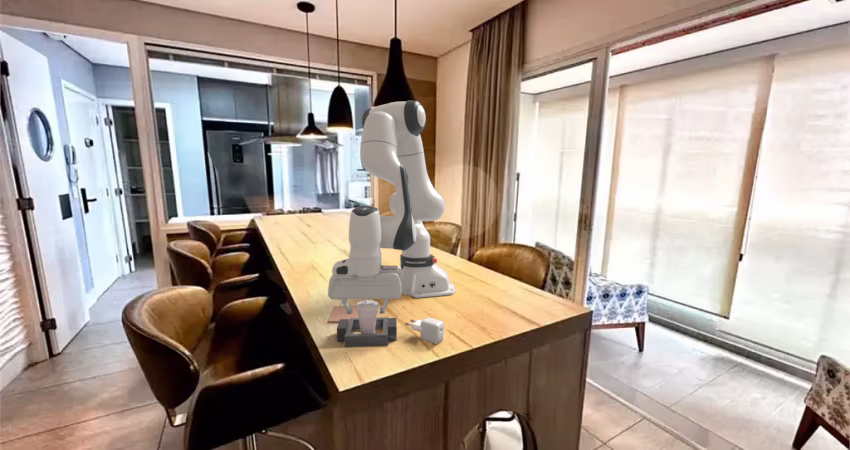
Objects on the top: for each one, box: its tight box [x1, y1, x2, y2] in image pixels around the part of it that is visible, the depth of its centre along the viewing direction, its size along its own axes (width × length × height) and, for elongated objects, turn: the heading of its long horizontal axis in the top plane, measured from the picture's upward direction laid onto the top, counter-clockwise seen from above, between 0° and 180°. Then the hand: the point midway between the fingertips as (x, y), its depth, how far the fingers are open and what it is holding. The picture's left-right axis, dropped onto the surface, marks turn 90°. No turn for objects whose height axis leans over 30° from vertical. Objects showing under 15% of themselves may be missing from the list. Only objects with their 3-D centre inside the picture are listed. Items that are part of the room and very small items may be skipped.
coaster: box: [326, 305, 358, 325], centre depth 117 cm, size 12×12×1 cm
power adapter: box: [404, 316, 444, 345], centre depth 102 cm, size 11×5×6 cm, turn 57°
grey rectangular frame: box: [336, 316, 398, 348], centre depth 103 cm, size 16×12×4 cm
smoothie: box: [355, 299, 380, 334], centre depth 102 cm, size 6×6×14 cm
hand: (365, 312), depth 101 cm, fingers open, 8 cm apart
